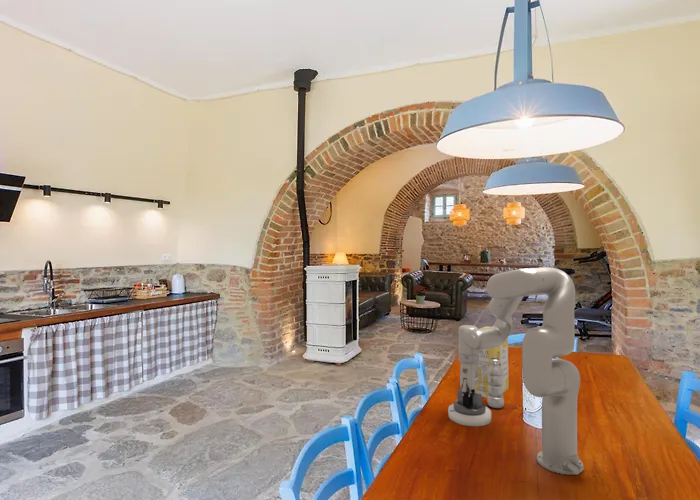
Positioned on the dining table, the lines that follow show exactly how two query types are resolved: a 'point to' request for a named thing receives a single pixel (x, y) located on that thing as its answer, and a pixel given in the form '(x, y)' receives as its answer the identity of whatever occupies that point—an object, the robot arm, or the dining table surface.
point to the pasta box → (484, 363)
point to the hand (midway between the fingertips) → (469, 403)
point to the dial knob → (476, 406)
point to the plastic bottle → (495, 384)
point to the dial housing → (469, 417)
